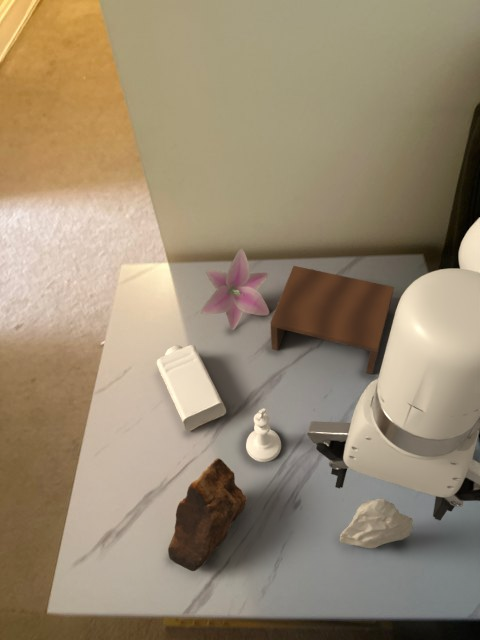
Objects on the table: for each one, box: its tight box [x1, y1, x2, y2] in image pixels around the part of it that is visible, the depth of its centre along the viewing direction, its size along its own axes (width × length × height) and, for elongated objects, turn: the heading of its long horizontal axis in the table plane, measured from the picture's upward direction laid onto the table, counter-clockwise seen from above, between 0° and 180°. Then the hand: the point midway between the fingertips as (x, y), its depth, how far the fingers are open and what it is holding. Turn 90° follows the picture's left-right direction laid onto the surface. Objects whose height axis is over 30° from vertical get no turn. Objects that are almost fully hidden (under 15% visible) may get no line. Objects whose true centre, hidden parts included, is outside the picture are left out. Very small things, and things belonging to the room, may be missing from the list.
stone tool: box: [339, 497, 413, 549], centre depth 64 cm, size 8×3×15 cm, turn 95°
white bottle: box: [156, 344, 227, 432], centre depth 84 cm, size 6×13×4 cm, turn 25°
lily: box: [200, 248, 270, 331], centre depth 92 cm, size 12×12×10 cm
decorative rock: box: [167, 458, 248, 572], centre depth 68 cm, size 12×6×11 cm, turn 143°
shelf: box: [270, 265, 395, 375], centre depth 88 cm, size 16×12×7 cm
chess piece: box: [245, 407, 282, 463], centre depth 75 cm, size 5×5×10 cm
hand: (389, 489), depth 56 cm, fingers open, 9 cm apart
